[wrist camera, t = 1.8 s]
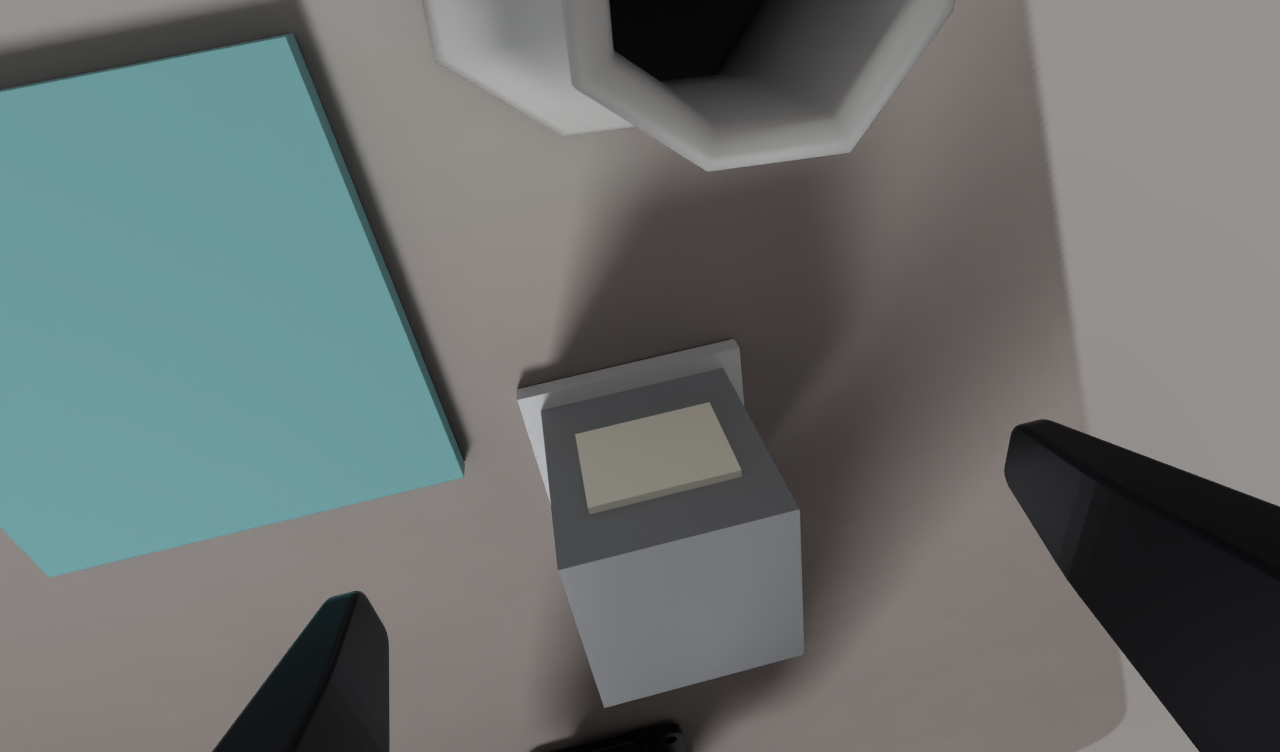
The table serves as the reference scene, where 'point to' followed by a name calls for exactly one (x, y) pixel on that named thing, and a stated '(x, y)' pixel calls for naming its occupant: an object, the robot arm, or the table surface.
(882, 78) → the flask
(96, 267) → the mat
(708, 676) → the box
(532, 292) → the table surface
